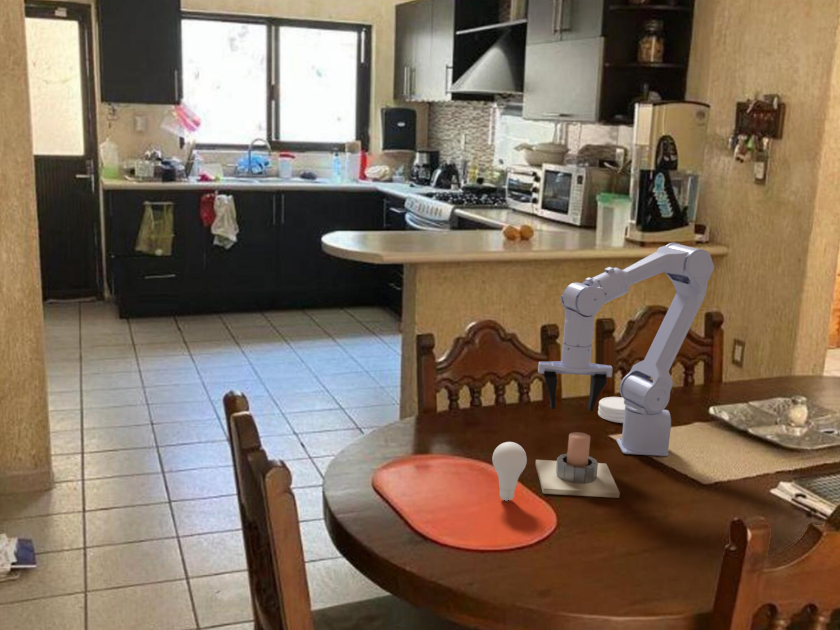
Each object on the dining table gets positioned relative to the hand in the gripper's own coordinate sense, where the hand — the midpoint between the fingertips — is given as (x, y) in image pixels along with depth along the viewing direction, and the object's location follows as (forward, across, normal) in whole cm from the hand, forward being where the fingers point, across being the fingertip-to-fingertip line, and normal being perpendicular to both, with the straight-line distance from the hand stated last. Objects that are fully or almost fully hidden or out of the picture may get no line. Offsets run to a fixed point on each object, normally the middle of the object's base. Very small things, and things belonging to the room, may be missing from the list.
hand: (571, 408), depth 180 cm
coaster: (+11, -16, -28) cm, 34 cm away
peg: (+9, 0, +12) cm, 15 cm away
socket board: (+10, 0, +12) cm, 16 cm away
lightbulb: (+11, +14, +23) cm, 29 cm away
